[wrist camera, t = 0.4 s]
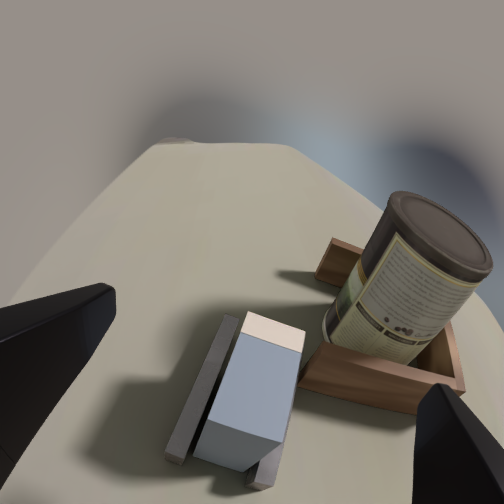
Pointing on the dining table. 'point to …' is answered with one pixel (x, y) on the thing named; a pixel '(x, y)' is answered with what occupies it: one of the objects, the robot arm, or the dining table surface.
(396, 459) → the dining table surface
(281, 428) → the blue block white cap
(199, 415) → the rails
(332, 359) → the walnut bay
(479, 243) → the coffee can
